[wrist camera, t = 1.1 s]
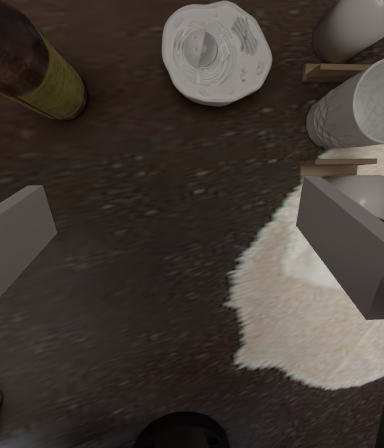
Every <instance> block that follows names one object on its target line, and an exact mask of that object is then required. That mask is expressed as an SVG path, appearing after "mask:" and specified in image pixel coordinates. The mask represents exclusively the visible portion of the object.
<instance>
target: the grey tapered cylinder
mask: <svg viewBox="0 0 384 448" xmlns="http://www.w3.org/2000/svg"><path fill="white" fill-rule="evenodd" d="M322 178H323V179H324V180H326V181H327V182H329V183H330V184H331V185H333V186H334V187H336V188H337V189H338V190H340V191H341V192H342V193H344V194H345V195H347V196H348V197H349V198H351V199H352V200H354V201H355V202H356V203H358V204H359V205H361V206H362V207H363V208H365V209H366V210H368V211H369V212H370V213H372V214H373V215H374V216H376V217H379V218H381V219H383V220H384V176H382V175H356V176H323V177H322Z"/></svg>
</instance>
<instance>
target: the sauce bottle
mask: <svg viewBox="0 0 384 448" xmlns="http://www.w3.org/2000/svg"><path fill="white" fill-rule="evenodd" d="M0 94H1V95H3V96H5V97H7V98H9V99H11V100H13V101H15V102H17V103H19V104H21V105H23V106H25V107H27V108H30V109H32V110H34V111H36V112H38V113H40V114H42V115H44V116H46V117H48V118H51V119H56V120H60V121H66V120H71V119H73V118H74V117H76V116H78V115H79V114H80V113H81V112H82V111H83V109H84V107H85V104H86V101H87V99H86V98H87V93H86V88H85V86H84V84H83V82H82V80H81V78H80V76H79V74H78V73H77V72H76V70H75V69H74V68H73V67H72V66H71V65H70V64H69V63H68V62H67V61H66V60H65V58H64V57H63V56H62V55H61V54H60V52H58V50H57V49H56V48H54V47H53V45H52V44H51V43H50V42H49V41H48V39H47V38H45V37H44V35H43V34H42V33H41V32H40V31H39V30H38V29H37V28H36V26H35V25H34V24H33V23H32V22H31V21H30V20H29V19H28V18H27V17H26V16H25V15H24V14H23V13H21V12H20V11H19V10H18V9H16V8H14V7H13V6H11V5H9V4H7V3H5V2H2V1H0Z"/></svg>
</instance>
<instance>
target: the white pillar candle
mask: <svg viewBox="0 0 384 448" xmlns="http://www.w3.org/2000/svg"><path fill="white" fill-rule="evenodd" d="M383 37H384V0H340V1H339V2H338V3H337V4H336V5H335V6H334V7H333V8H332V9H331V10H330V11H329V12H328V13H327V14H326V15H325V16H324V17H323V18H322V19H321V20H320V21H319V22H318V24H317V25H316V27H315V29H314V32H313V36H312V46H313V50H314V52H315V54H316V56H317V57H318V59H319V60H320V61H322V62H323V63H325V64H342V63H344V62H346V61H347V60H349V59H350V58H352V57H354V56H355V55H357V54H358V53H360V52H361V51H363V50H364V49H366V48H367V47H369V46H371V45H372V44H374V43H375V42H377V41H378V40H380V39H381V38H383Z"/></svg>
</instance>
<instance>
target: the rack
mask: <svg viewBox="0 0 384 448" xmlns="http://www.w3.org/2000/svg"><path fill="white" fill-rule="evenodd" d="M370 66H371V65H357V64H305V65H304V66H303V82H343V83H344V82H345V81H347V80H348V79H350V78H352V77H353V76H355V75H357V74H358V73H360V72H362V71H363V70H365V69H367V68H368V67H370ZM365 164H377V159H314V160H307V161H299V173H298V176H321V175H357V165H365Z"/></svg>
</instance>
